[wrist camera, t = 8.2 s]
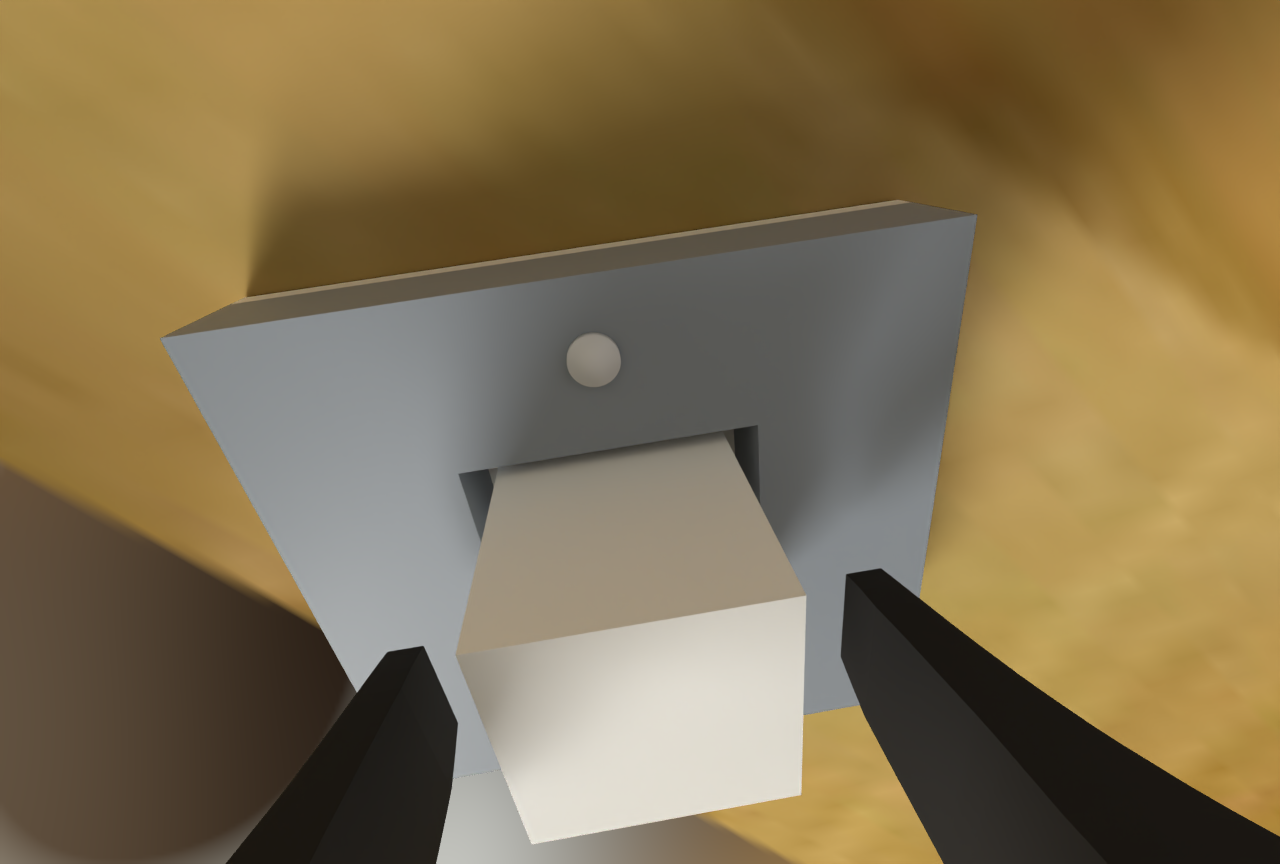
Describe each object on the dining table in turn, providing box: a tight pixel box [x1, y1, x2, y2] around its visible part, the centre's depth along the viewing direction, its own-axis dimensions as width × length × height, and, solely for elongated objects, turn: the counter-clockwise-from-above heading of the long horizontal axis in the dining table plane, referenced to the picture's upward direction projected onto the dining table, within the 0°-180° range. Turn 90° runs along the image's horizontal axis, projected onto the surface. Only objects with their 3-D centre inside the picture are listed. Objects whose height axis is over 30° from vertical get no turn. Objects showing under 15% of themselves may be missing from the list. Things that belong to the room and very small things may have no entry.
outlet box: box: [160, 200, 977, 779], centre depth 13 cm, size 13×12×3 cm
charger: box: [455, 431, 806, 844], centre depth 11 cm, size 4×4×6 cm
